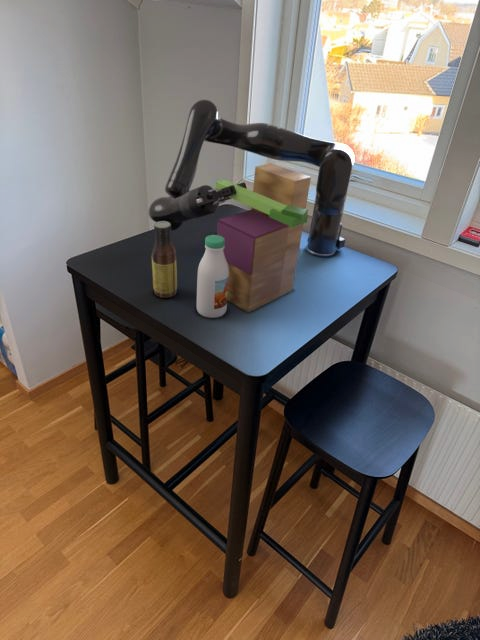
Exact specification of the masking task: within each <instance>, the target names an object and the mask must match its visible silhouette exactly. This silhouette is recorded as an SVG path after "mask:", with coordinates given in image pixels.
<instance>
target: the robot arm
mask: <svg viewBox="0 0 480 640" xmlns="http://www.w3.org/2000/svg"><path fill="white" fill-rule="evenodd" d="M204 142H208V143H212V144H218V145H223V146H227V147H233V148H236V149H239V150H242V151H245V152H249V153H251V154H255V155H258V156H261V157H264V158H268V159H271V160H275V161H279V162H281V161H282V162H296V163H297V162H298V163H299V162H300V163H306V164H309V165H313V166H316V167H318V174H317V180H316V187H315V198H314V202H313V203H314V204H313V208H312V216H311V221H310V225H309V226H310V227H309V232H308V237H307V241H306V242H307V244H306V247H305V249H306V251H307V252H308V253H309V254H311V255H313V256H315V257H322V258H327V257H332V256H334V255H335V254H336V252H337V251H338V250H340V249H342V248H344V247H345V244H346V239H345V238H343V237H342V236H341V235H342V229H343V224H342V221H343V215H344V209H345V205H346V200H347V196H348V191H349V190H348V189H349V185H350V179H351V175H352V171H353V167H354V164H355V154H354V151H353V150H352V148H350V147H349V146H348V145H347V144H344V143H340V142H334V141H329V140H321V139H317V138H313V137H309V136H307V135H304V134H301V133H298V132H296V131H293V130H291V129H287V128H284V127H280V126H277V125H274V124H270V123H265V122H254V123H253V122H252V123H245V124H244V123H243V124H242V123H236V122H232V121H229V120H226V119H223V117H221V116H220V112H219V109H218V107H217V105H216V104H215V103H214V102H213V101H212V100H210V99H200V100H198V101H196V102H194V104H193V105H192V106H191V108H190V109H189V112H188V116H187V121H186V125H185V129H184V133H183V138H182V141H181V144H180V147H179V150H178V153H177V156H176V159H175V161H174V164H173V166H172V169H171V171H170V174H169V176H168V179H167V181H166V183H165V185H164V192H165V193H166V194H167V196H161V197H158V198H156V199H154V200H153V201H152V202H151V204H149V207H148V216H149V218H150V219H151V220H152V221H153V222H154V223H156V222H159V221H166V222H169V223H170V224H171V231H176V230H178V229H179V228H180V227H181V226H182V225H183V223H184V222H187V221H190V220H193V219H198V218H203V217H205V216H208V215H212V214H215V212H217V210H219V209H218V208H219V207H220V204H223V203H225V202H227V201H229V200H233V199H232V198H230V197H228V196H231V195H234V194H236V189H235V186H234V185H231V186H228V187H226V188H220V189H217V188H216V189H215V187H214V188H213V187H212V186H211V185H207V184H205V185H204V184H203V185H201V186H197V187H196V188H193V189H191V187H192V185H193V182H194V179H195V176H196V173H197V170H198V166H199V165H198V164H199V160H200V154H201V150H202V147H203V144H204ZM235 184H236V183H235ZM236 185H238V186H241V187H243V188H246V189H248V188H247V184H246V182H240V183H237V184H236Z"/></svg>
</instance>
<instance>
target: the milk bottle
mask: <svg viewBox="0 0 480 640" xmlns="http://www.w3.org/2000/svg"><path fill="white" fill-rule="evenodd" d="M224 245H225V239H224V238H223V237H222V236H219V235H217V234H210V235H207V236H206V237H205V238H204V248H205V251H204V253H203V255H202V257H201V259H200V262H199V264H198V267H197V277H196V311H197V313H198V314H199V315H200V316H203V317H205V318H208V319H209V318H210V319H216V318H219V317H222V316H224V315H225V314H226V312H227V309H228V300H227V298H228V283H229V267H228V263H227V261H226V258H225V256H224V252H223V249H224Z"/></svg>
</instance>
